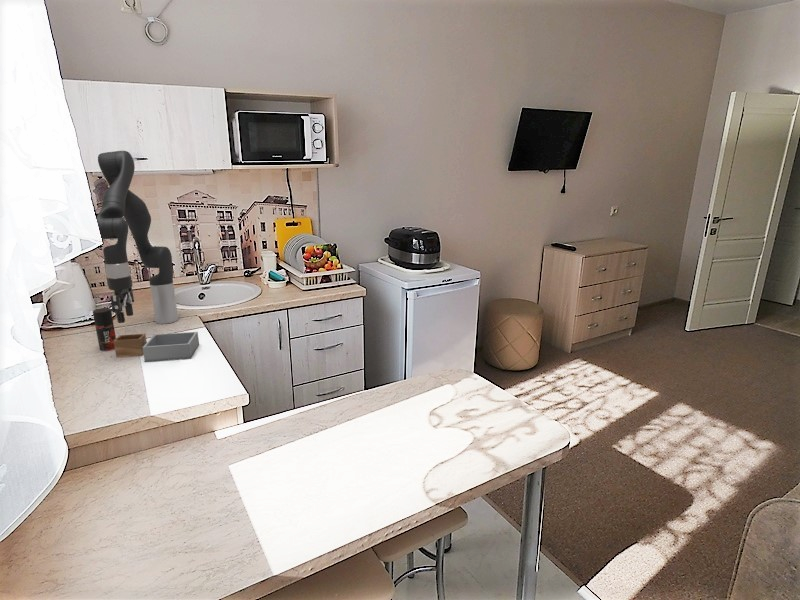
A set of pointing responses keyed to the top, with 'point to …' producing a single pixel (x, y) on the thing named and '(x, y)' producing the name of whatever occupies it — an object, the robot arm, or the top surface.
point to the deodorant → (104, 328)
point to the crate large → (171, 346)
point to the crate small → (129, 345)
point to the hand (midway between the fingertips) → (125, 318)
